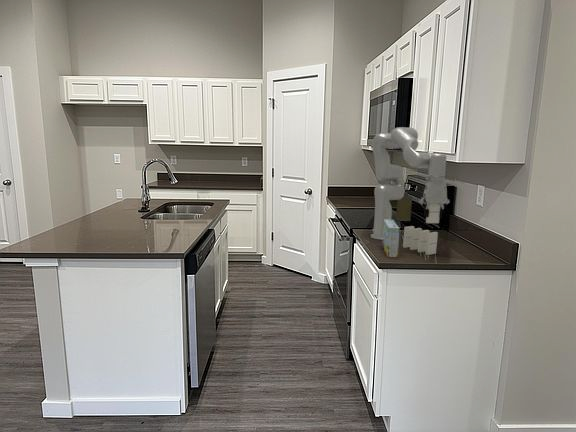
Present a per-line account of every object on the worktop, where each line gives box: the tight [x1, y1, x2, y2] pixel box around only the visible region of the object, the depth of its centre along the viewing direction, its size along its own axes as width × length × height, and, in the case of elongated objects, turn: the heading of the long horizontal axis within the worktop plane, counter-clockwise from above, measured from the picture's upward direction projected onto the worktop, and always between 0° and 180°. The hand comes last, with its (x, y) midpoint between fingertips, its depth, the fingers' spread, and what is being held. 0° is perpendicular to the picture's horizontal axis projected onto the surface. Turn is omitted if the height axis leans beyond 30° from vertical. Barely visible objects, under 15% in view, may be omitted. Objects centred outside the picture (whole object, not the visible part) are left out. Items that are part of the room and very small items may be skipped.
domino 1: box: [402, 225, 415, 249], centre depth 215 cm, size 1×6×11 cm, turn 120°
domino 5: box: [424, 231, 439, 256], centre depth 202 cm, size 1×6×11 cm, turn 120°
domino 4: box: [425, 204, 440, 224], centre depth 195 cm, size 1×6×11 cm, turn 96°
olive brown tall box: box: [395, 191, 413, 222], centre depth 292 cm, size 11×10×20 cm
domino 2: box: [409, 227, 423, 251], centre depth 211 cm, size 1×6×11 cm, turn 120°
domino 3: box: [417, 229, 431, 253], centre depth 207 cm, size 1×6×11 cm, turn 120°
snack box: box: [382, 219, 401, 258], centre depth 204 cm, size 21×6×15 cm, turn 174°
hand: (432, 216), depth 196 cm, fingers closed on domino 4, 5 cm apart
